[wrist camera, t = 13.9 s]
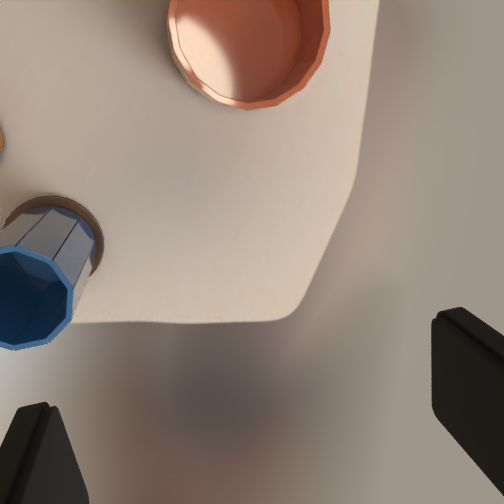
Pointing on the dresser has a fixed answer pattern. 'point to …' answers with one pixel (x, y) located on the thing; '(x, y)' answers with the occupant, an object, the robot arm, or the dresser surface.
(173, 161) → the dresser surface
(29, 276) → the blue cup
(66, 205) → the coaster
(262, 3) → the orange bowl
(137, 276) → the dresser surface
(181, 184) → the dresser surface
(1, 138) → the cucumber toast
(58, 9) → the dresser surface
